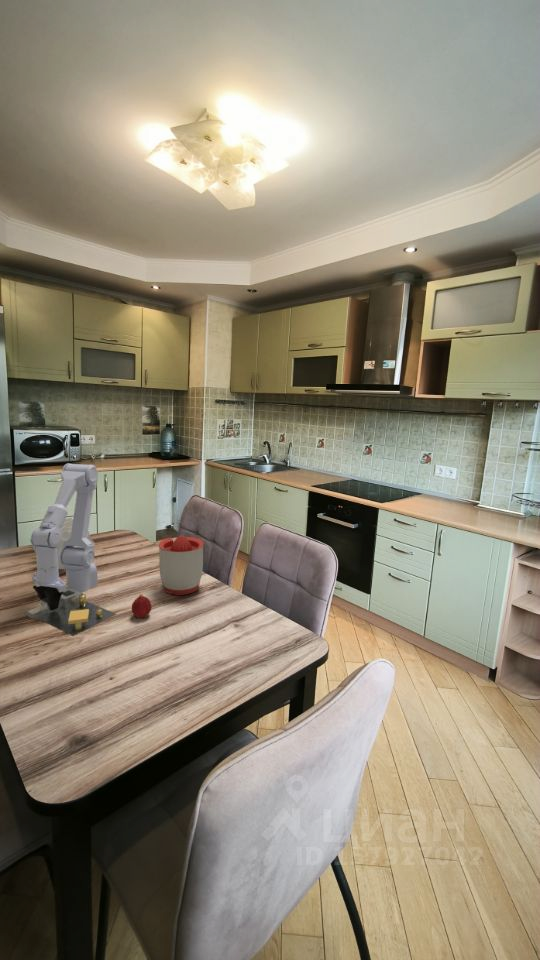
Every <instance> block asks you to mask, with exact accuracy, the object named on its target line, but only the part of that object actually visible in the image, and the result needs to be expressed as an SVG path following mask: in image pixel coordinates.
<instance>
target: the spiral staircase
mask: <svg viewBox="0 0 540 960" xmlns="http://www.w3.org/2000/svg"><path fill="white" fill-rule="evenodd" d="M72 525H73V517H72V516H70V517H66V518H65V521H64V523H63V525H62V528H61V529H62V533H61V541H60V543H59V544H58V546H57V551H58V569H59V570H66V568H64V565H63V564H61V562H60V560H59V555H60V552H61V550H62V547H63V543H64V542H65V541H67V540H68V539H70V538H71V532H72ZM91 534H92V533H91ZM91 534H90V531H88V535H87V539H88V540H89V541H90V542H91V543H93V544H94V546H95V545H96V542H94V540H93V539H92V538H91ZM73 547H78V548H83V547H80V546H73ZM94 556H95V553H94Z"/></svg>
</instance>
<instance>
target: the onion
mask: <svg viewBox="0 0 540 960" xmlns="http://www.w3.org/2000/svg"><path fill="white" fill-rule="evenodd" d="M152 607H153V606H152V601H150V598H149V597H147V596H145V595H143V593H140V594H139V596H138V597H136V598H135V600H133V602H132V604H131V612H132V614H133V615H134V616H135V617H137V618H138V619H144V618H145V617H147V616H148V615H150V612H151V610H152Z"/></svg>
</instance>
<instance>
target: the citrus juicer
mask: <svg viewBox="0 0 540 960" xmlns="http://www.w3.org/2000/svg"><path fill="white" fill-rule="evenodd" d="M157 545H158V550H159V551H158V553H159V557H158V559H159V562H158V563H159V565H158V567H159V576H160V580H161V584H162V587H163V589H164V590H165V591H164V592H166V593H168V594H170V595H172V594H174V596H175V595H176V596H178V595H179V596H181V595H182V596H183V595H188V594H192V593H194V592H196V591H197V590H198V588H199V586H200V583H201V579H202V575H203V569H204V545H205V543H204V541H203V540H201V539H199V538H197V537H193V536H192V537H191V536H187V537H185V536H184V535H183V534H180V535H179V536H178V537H176V538H175V540H173V538H172V537H169V538H165V539H163V540H161V541H160V542H159V543H158V544H157Z"/></svg>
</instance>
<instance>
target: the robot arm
mask: <svg viewBox="0 0 540 960" xmlns="http://www.w3.org/2000/svg"><path fill="white" fill-rule="evenodd" d="M60 476H61V481H62V482H61V485H60V487H59V491H58V493H57V496H56V499H55V501H54V504H52V505H50V506H48V508H47V510H46V513H45V514H44V517H43V519H42V521H41V523H40V525H39V527H37V528H35V529H34V530H33V531H32V533H31V538H30V539H29V541H30V544H31V546H33V551H34V552H35V557H36V570H37V571H36V572H37V573H34V574H31V580H32V582H34V585H33V586H32V589H34V591H35V592H36V593H37V596H38V598H39V601H40V600H41V599H43V598H46V597H47V598H48V601H49V607H50V610H51V611H53V610H55V609H57V608H58V606H59V602H60V598H61V595H62V593H63V591H65V590H66V589H67V588H73V589H75V590H78V591H80V592H82V593H84V592H86V591H88V590H90V589H92V588H94V587H97V586H98V569H97V565H96V564H95V563H94V560H95V555H94V554H95V545H94V544H93V543H91V542H90V541H89V540H88V539H87V535H88V532H89V526H90V520H91V511H92V506H93V498H94V490H96V489H97V485H98V479H99V471H98V470H97V467H96V466H95V464H81V463H79V464H77V463H69V462H67V463H66V464H64V465H63V467H62V470H61V473H60ZM75 493H76V497H75V505H74V512H73V517H72V519H73V525H72V532H71V538H70V539H68V540H67V541H65V542H64V543H63V547H62V550H61V552H60V555H59V560H60V562H61V564H63V565H64V568H66V569H65V573H66V574H65V575H66V577H65V578H66V583H65V582H64V581H63V580H62V579H61V577H60V573H59V570H60V569H58V551H57V546H58V544H59V543H60V541H61V533H62V529H61V528H62V525H63V523H64V521H65V519H66V518H67V516H68V510H67V508H68V505H69V503H70V501H71V500H72V498H73V496H74V494H75ZM73 546H80V547H83V548H78V547H73Z"/></svg>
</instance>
